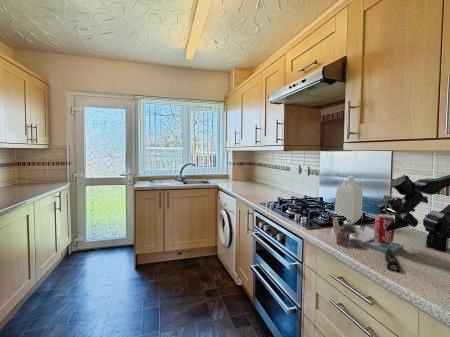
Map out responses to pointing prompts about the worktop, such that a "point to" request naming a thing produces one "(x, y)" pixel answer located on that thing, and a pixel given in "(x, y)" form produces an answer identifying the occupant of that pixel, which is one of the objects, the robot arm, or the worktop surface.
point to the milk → (349, 200)
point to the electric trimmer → (391, 261)
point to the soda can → (383, 229)
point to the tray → (382, 246)
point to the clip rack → (346, 229)
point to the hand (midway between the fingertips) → (381, 227)
